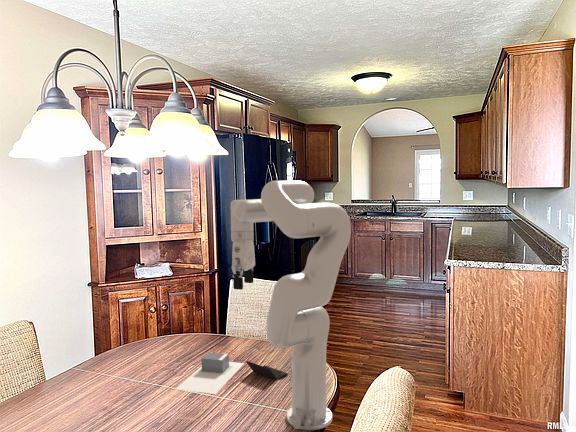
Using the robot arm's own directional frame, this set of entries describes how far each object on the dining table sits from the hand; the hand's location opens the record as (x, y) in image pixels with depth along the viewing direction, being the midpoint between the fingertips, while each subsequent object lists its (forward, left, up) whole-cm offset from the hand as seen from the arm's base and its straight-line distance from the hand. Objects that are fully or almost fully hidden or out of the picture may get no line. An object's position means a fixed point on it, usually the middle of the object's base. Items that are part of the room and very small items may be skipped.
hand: (243, 285), depth 148 cm
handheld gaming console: (-1, -8, -31) cm, 32 cm away
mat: (-6, +10, -30) cm, 32 cm away
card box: (-1, +11, -30) cm, 32 cm away
